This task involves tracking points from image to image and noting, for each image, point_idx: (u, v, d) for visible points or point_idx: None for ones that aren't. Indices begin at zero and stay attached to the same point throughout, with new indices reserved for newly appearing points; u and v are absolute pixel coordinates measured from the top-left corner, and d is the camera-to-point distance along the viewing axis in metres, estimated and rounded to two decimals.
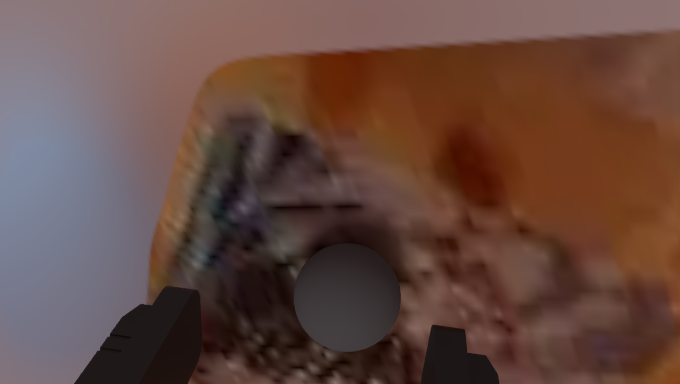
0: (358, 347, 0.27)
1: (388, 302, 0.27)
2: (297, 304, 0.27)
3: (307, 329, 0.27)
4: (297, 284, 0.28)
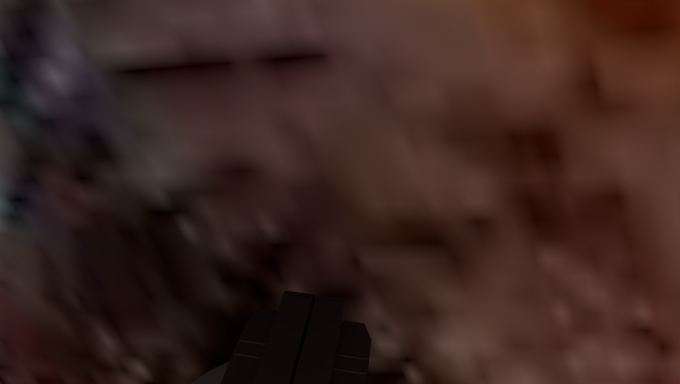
0: None
1: None
2: None
3: None
4: None
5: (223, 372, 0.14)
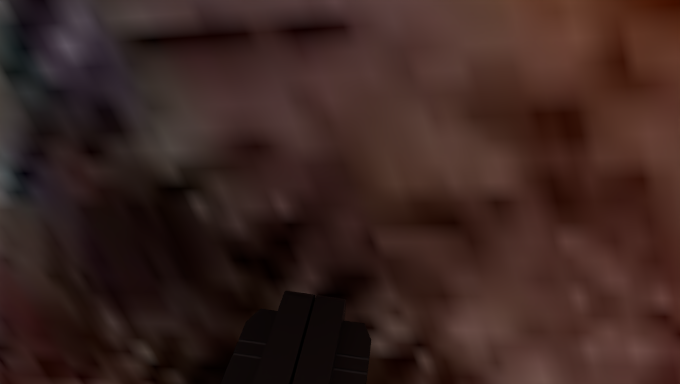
0: None
1: None
2: None
3: None
4: None
5: None
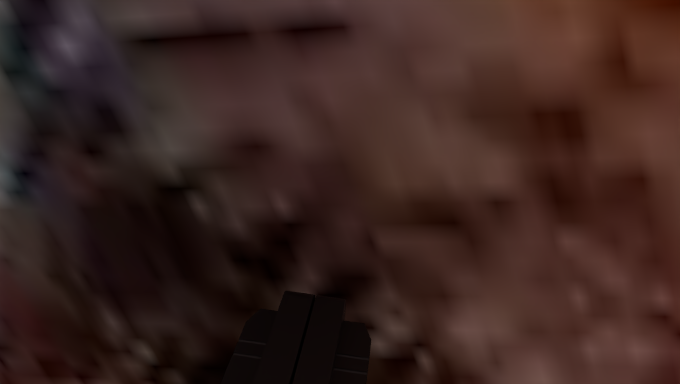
0: None
1: None
2: None
3: None
4: None
5: None
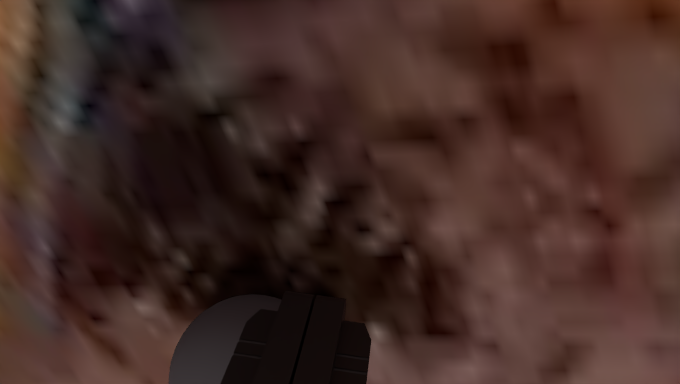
0: None
1: None
2: None
3: None
4: None
5: (196, 349, 0.17)
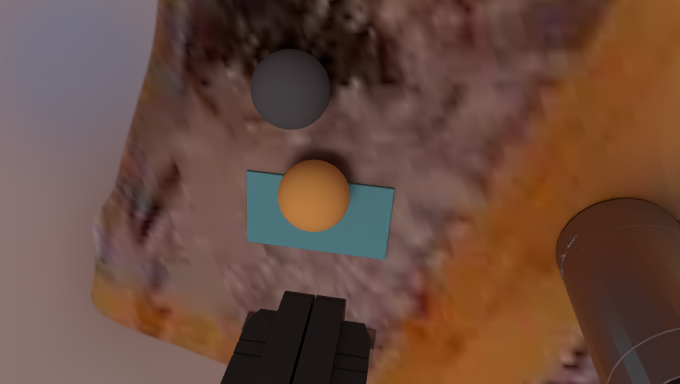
0: None
1: None
2: None
3: None
4: None
5: (266, 62, 0.37)
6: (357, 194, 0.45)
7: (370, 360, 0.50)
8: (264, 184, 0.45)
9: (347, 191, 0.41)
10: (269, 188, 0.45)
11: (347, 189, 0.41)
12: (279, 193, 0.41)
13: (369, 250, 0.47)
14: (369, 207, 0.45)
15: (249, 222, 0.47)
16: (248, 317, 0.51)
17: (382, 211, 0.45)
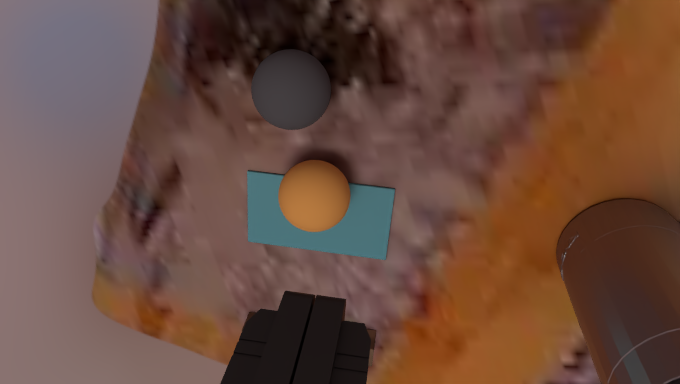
0: None
1: None
2: None
3: None
4: None
5: (267, 62, 0.37)
6: (358, 194, 0.45)
7: (370, 360, 0.50)
8: (264, 184, 0.45)
9: (348, 191, 0.41)
10: (270, 188, 0.45)
11: (348, 189, 0.41)
12: (280, 193, 0.41)
13: (370, 250, 0.47)
14: (369, 207, 0.45)
15: (250, 222, 0.47)
16: (249, 317, 0.51)
17: (383, 211, 0.45)
